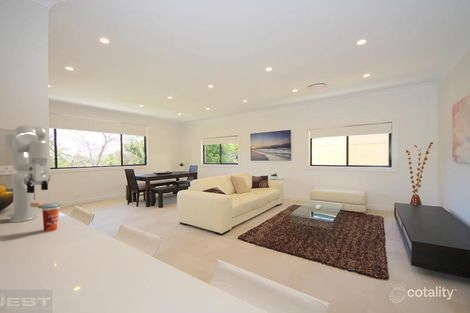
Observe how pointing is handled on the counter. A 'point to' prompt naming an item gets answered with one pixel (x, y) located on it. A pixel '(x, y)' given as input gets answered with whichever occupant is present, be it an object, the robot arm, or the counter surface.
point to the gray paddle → (41, 204)
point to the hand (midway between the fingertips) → (37, 191)
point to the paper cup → (50, 218)
